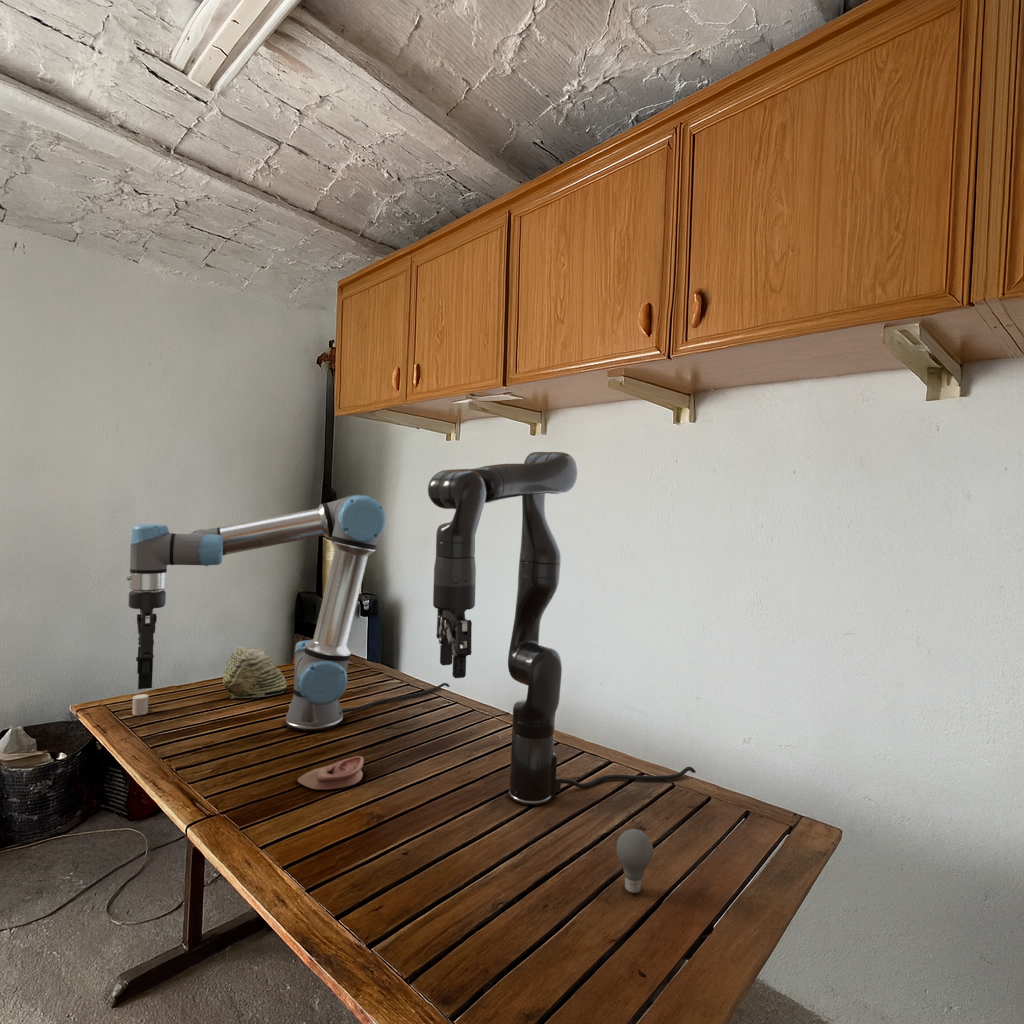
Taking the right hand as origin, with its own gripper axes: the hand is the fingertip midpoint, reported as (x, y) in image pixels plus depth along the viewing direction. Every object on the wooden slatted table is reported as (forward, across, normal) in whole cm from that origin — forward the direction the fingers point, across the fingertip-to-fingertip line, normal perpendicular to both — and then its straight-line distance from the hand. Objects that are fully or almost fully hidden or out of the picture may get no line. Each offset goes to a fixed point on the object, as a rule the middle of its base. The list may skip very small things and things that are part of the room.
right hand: (452, 670), depth 114 cm
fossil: (+33, +102, +34) cm, 113 cm away
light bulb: (+34, -20, -26) cm, 47 cm away
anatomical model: (+33, +35, +17) cm, 51 cm away
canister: (+33, +92, +64) cm, 117 cm away
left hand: (+14, +59, +58) cm, 84 cm away
